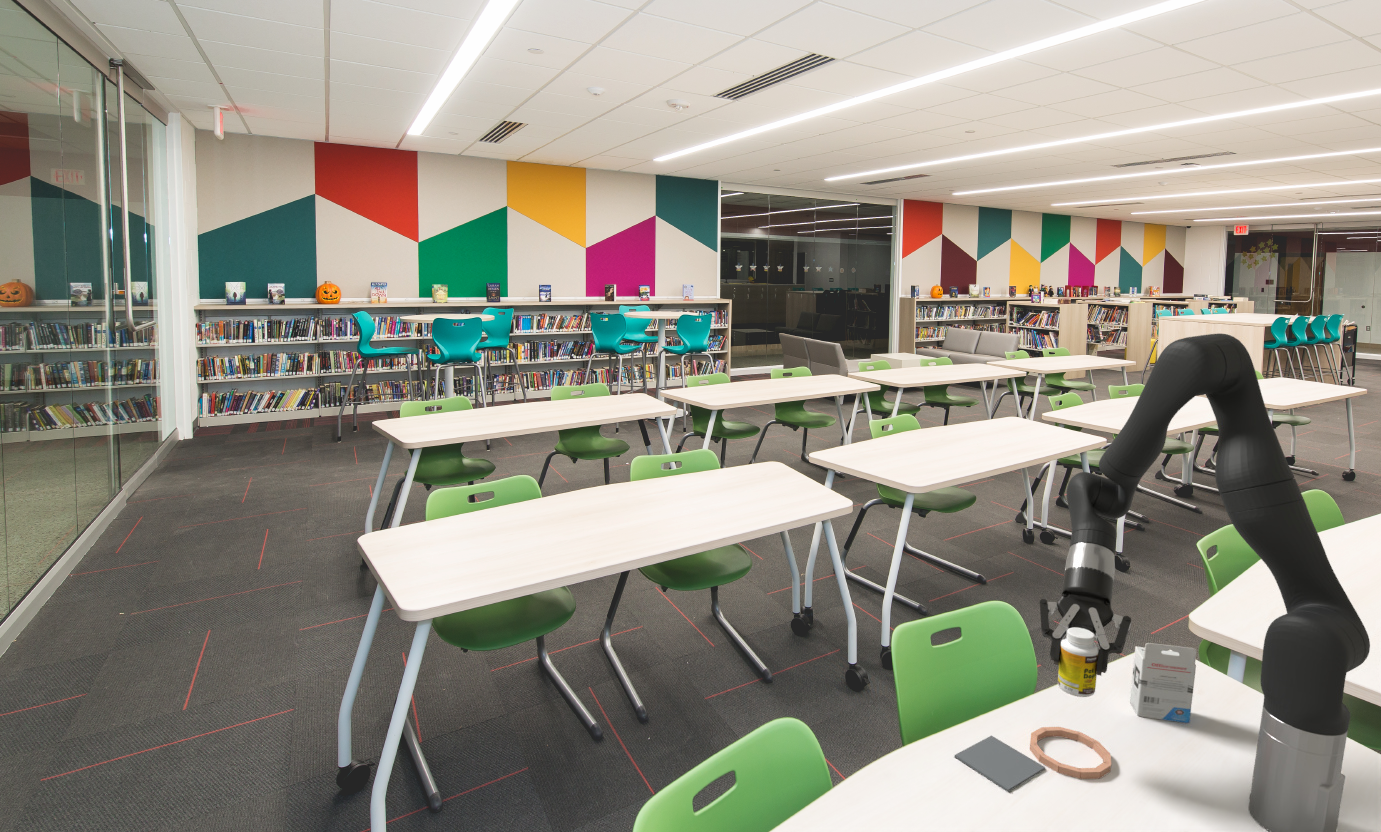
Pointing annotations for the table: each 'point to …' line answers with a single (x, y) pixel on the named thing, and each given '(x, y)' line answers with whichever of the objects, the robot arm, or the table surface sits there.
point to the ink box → (1163, 682)
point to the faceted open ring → (1066, 769)
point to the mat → (999, 763)
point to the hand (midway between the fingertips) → (1077, 667)
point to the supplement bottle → (1078, 663)
